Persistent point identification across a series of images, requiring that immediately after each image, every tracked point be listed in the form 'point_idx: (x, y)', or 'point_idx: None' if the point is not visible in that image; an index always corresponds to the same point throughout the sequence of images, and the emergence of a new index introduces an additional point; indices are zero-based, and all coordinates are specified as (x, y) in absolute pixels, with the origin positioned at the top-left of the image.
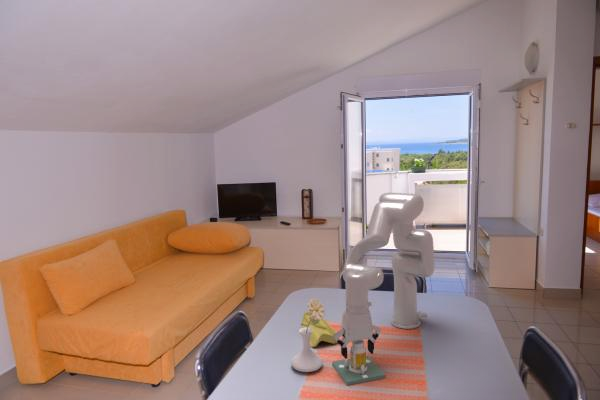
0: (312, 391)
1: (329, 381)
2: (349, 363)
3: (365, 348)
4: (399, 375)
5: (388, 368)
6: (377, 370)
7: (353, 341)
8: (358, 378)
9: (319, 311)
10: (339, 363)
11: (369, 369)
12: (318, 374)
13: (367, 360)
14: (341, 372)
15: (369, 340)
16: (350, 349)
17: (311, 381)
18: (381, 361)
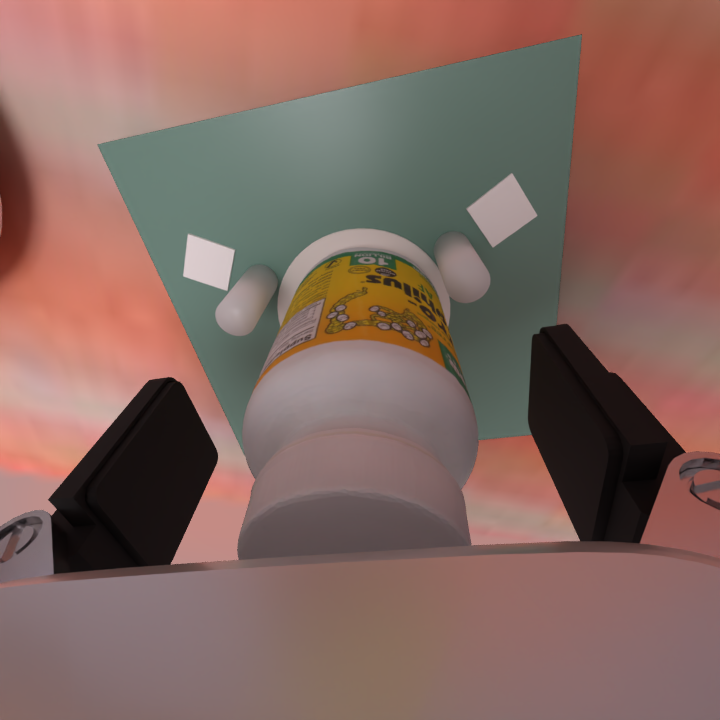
0: (48, 456)
1: (134, 388)
2: (294, 220)
3: (467, 478)
4: (654, 405)
5: (644, 304)
6: (515, 377)
7: (258, 554)
8: None
9: None
10: (185, 201)
11: (456, 353)
12: (26, 291)
13: (507, 196)
14: (209, 356)
15: (623, 511)
16: (242, 432)
17: (3, 368)
18: (671, 159)
